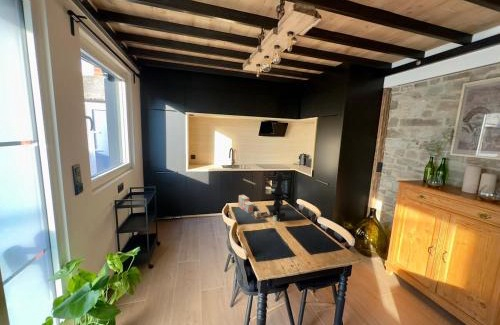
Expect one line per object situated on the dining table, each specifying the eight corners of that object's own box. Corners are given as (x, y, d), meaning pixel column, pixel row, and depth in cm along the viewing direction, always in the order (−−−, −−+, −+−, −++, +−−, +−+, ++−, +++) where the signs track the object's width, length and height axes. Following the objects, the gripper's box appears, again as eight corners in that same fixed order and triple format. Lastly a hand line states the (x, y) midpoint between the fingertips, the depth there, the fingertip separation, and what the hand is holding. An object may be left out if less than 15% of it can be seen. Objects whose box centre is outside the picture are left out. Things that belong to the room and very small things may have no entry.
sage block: (276, 219, 184) (277, 215, 184) (279, 221, 180) (280, 217, 180) (272, 220, 182) (273, 215, 182) (275, 222, 178) (275, 217, 178)
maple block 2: (270, 213, 195) (271, 208, 194) (273, 215, 191) (273, 210, 191) (266, 213, 193) (267, 209, 192) (269, 215, 189) (269, 211, 189)
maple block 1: (258, 215, 189) (258, 210, 188) (260, 217, 185) (261, 212, 184) (254, 216, 187) (254, 211, 186) (256, 217, 183) (256, 213, 182)
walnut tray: (270, 212, 199) (270, 210, 199) (276, 217, 189) (276, 214, 189) (250, 215, 189) (251, 213, 189) (256, 220, 180) (256, 218, 179)
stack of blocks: (253, 213, 196) (253, 201, 194) (247, 214, 193) (248, 202, 191) (243, 205, 215) (243, 194, 213) (238, 206, 212) (238, 195, 210)
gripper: (264, 201, 183) (263, 217, 186) (275, 208, 167) (274, 225, 169) (274, 199, 188) (273, 215, 191) (286, 206, 172) (285, 223, 174)
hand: (276, 219), depth 181 cm, fingers closed on sage block, 4 cm apart
